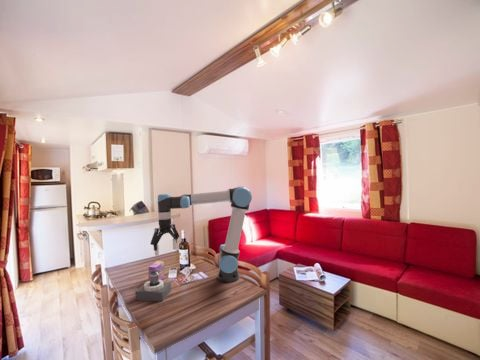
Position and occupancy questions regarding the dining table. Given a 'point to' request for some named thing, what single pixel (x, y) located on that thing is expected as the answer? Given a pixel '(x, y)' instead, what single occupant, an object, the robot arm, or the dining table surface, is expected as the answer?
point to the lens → (154, 278)
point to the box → (157, 266)
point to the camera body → (153, 291)
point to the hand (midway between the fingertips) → (166, 252)
